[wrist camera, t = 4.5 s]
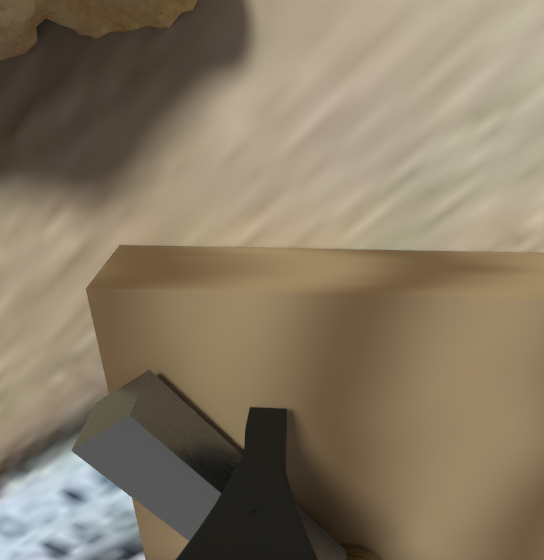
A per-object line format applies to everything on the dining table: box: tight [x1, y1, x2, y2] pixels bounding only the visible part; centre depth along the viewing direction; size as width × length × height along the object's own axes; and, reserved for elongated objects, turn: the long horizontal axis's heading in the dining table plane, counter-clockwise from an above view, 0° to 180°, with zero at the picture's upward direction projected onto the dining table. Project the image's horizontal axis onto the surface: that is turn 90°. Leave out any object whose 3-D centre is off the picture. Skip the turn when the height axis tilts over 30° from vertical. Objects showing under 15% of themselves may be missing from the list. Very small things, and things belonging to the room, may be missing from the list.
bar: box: [72, 370, 381, 560], centre depth 14 cm, size 12×3×3 cm, turn 38°
